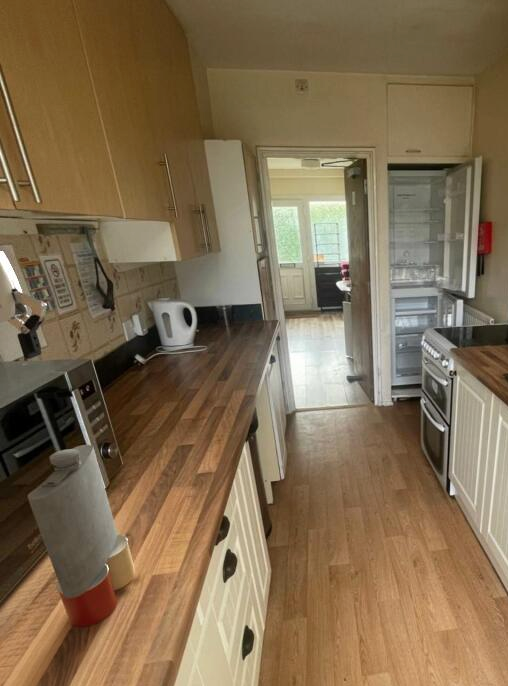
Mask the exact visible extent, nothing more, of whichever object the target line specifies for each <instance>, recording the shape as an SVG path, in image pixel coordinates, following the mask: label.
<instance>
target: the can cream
mask: <svg viewBox="0 0 508 686" xmlns="http://www.w3.org/2000/svg"><path fill="white" fill-rule="evenodd" d="M129 545H130V544H129V540H128V538H127V537H126V536H125V535H123V534H118V533H117V537H116V541H115V544H114V547H113V550H112V552H111V554H110V556H109V558H108V560H107V562H106V565H107V567H108V573H109V576H110V579H111V582H112V586H113V589H114V592H115V591H117V590H120V589H121V588H123V587H125V586H127V585H128V584H129V583H130V582H132V581H133V579H134V577H135V575H136V569H135V564H134V561H133V557H132V553H131V549H130V546H129Z"/></svg>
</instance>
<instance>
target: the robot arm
mask: <svg viewBox="0 0 508 686" xmlns="http://www.w3.org/2000/svg"><path fill="white" fill-rule="evenodd" d="M27 307H28V308H30V309H31V312H30V313H31V315H30V316H29V315H28V308H27ZM47 308H48V305H47V303H46V302H45V301H42V300H40V299H37V298H35V297H33V296H30V295H28V294H27V293H24V292H23V291H22V288H21V285H20V284H19V280H18V278H17V276H16V274H15V271H14V270H13V267H12V265H11V263H10V261H9V259H8V258H7V256H6V254H5V253H4V251H3V250H0V323H5V322H8V323H9V324H10V325H12V326H13V327H14V328H15V329H16V330H18V331H19V333H17V339H18V343H19V345H20V348H21V352H22V355H23V357H24V358H25V359H27V360H30V359H33V358H36V357H38V356H41V355H42V346H41V342H40V339H39V335H38V332H37V331H38V330H39V329H40V326H41V325H42V324H43V322H44V321H45V315H46V313H47Z"/></svg>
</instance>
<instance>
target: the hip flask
mask: <svg viewBox="0 0 508 686" xmlns="http://www.w3.org/2000/svg"><path fill="white" fill-rule="evenodd" d="M49 461H50V464H51V465H52V466H53V468H54V471H53V472H52V473H51V474H50V475H49V476H48V477H47V478H46V479H45V481H43V482H42V483H41V484H39V485H38V486H37V487H36V488H35V489H34V490H31V492H29V493H28V494H27V500H28V502H29V505H30V508H31V511H32V514H33V516H34V518H35V522H36V524H37V527H38V530H39V532H40V535H41V538H42V541H43V544H44V546H45V549H46V551H47V554H48V557H49V560H50V563H51V565H52V568H53V571H54V574H55V576H56V579H57V582H59V584H60V587H61V590H62V593H63V595H64V597H65V598H75V597H78V596H80V595H82V594H83V593H84V592H86V591H87V589H88V588H89V587H90V586H91V584H92V583H93V582H94V580H95V579H96V578H97V576H98V575H99V573H100V572H101V570H102V569H103V567H104V565H105V564H106V562H107V560H108V558H109V556H110V554H111V552H112V550H113V547H114V544H115V541H116V537H117V534H118V531H117V527H116V524H115V523H116V522H115V519H114V515H113V513H112V509H111V506H110V502H109V498H108V494H107V491H106V486H105V483H104V480H103V475H102V473H101V469H100V466H99V462H98V459H97V455H96V451H95V448H94V446H93V445H92V444H82V445H77V446H75V447H73V448H70V449H69V448H68V449H62V450H58V451H55V452H54V453H52V454H51V455H50V456H49Z"/></svg>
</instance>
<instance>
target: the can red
mask: <svg viewBox="0 0 508 686" xmlns="http://www.w3.org/2000/svg"><path fill="white" fill-rule="evenodd" d="M56 582H57V583H56V590H57V592H58V594H59V596H60V600H61V603H62V605H63V607H64V610H65V613H66V615H67V618H68V620H69V623H70V625H72V626H74V627H77V628H84V627H85V628H86V627H91V626H94V625H96V624H99V623H100V622H103V621H104V620H105V619H107V618H108V617H110V615H111V614H113V612H114V611H115V609H116V608H117V604H118V599H117V595H116V593H115V591H114V589H113V586H112V582H111V579H110V576H109V573H108V567H107V565H106V564H105V565H104V567H103V569H102V570H101V572H100V573H99V575H98V576H97V578H96V579H95V580H94V582H93V583H92V584H91V586H90V587H89V588H88V589H87V591H86V592H84V593H83V594H82V595H80V596H78V597H75V598H65V597H64V595H63V593H62V590H61V587H60V584H59V582H58V581H56Z"/></svg>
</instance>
